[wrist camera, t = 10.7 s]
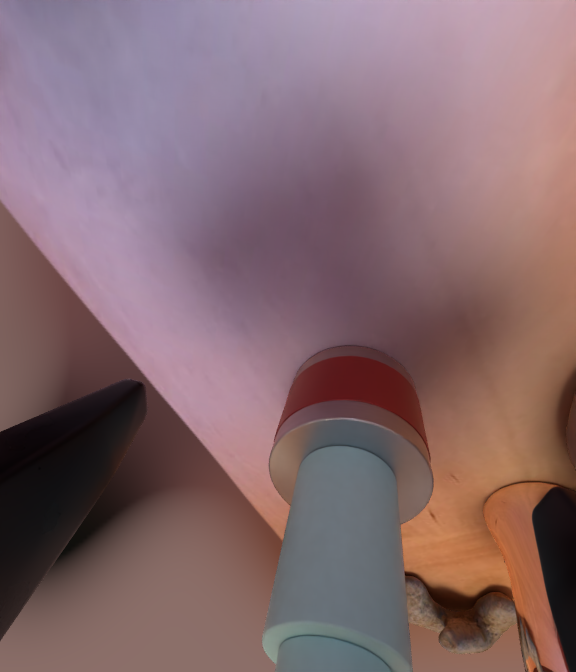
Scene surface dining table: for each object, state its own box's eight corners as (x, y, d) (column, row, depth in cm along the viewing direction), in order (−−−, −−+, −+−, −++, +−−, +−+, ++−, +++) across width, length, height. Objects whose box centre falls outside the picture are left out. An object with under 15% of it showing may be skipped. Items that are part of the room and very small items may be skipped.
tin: (284, 427, 25) (260, 508, 19) (301, 331, 21) (277, 399, 15) (396, 455, 24) (404, 548, 19) (436, 361, 20) (463, 444, 15)
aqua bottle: (292, 497, 18) (223, 814, 10) (306, 434, 16) (232, 779, 7) (381, 522, 18) (393, 880, 9) (410, 460, 16) (464, 866, 7)
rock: (285, 535, 28) (281, 521, 35) (268, 610, 26) (267, 580, 33) (534, 605, 27) (481, 577, 34) (534, 687, 26) (478, 640, 32)
